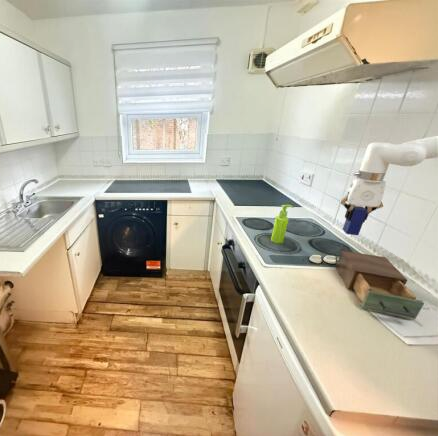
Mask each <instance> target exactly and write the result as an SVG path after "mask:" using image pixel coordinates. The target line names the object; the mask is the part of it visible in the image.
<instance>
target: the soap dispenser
mask: <svg viewBox="0 0 438 436" xmlns="http://www.w3.org/2000/svg"><path fill="white" fill-rule="evenodd" d="M281 207H282V209H281V210H279V214H278V215H277V216H275V219H274V224H273V228H272V233H271V238H270V241H271V242H272V243H275V244H283V243H284V241H285V236H286V233H287V229H288V224H289V220H290V219H289V217H287V216H288V211H287V209H288V208H294V206H293V205H292V204H281Z"/></svg>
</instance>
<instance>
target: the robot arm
mask: <svg viewBox="0 0 438 436" xmlns="http://www.w3.org/2000/svg"><path fill="white" fill-rule="evenodd" d="M435 158H438V135H434V136H428V137H425V138H420V139H419V138H418V139H415V140H410V141H405V142H402V143H400V144H394V143H393V142H385V141H384V142H383V141H382V142H381V141H376V142H375V141H374V142H371V143H369V144H368V145H367V148H366V150H365V153H364V156H363V158H362V161H361V165H360V169H359V170H358V171H357V172H355V171H354V172H353V176H354V177H355V178H354V179H353V180H352V182H351V184H350V185H349V188H348V189H347V192H346V194H345V196H343V197H342V198H341V199H340V200H339V203H340V205H342V206H343V207H344V208H345V209H346V211H345V215H344V218H345V220H346V219H347V220H348V221H350V219H351V217H352V214H353V212H352V210H353V208H354V207H355V206H361V207H364V208H365V209H366V210H368V211H367V214H366V216H365V219H364V222H363V223H365V221H367V220H368V217H369V214H371V213H372V212H374V211H376V210H379V209H382V208H384V204H383V202H382V200H383V197H384V195H385V190H386V181H385V180H384V179H385V176H386V174H387V171H388V169H389V166H390V165H394V166H400V167H414V166H417V165H419V164H421V163H422V162H423V161H425V160H429V159H435ZM346 202H347V203H346Z"/></svg>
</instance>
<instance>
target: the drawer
mask: <svg viewBox="0 0 438 436" xmlns="http://www.w3.org/2000/svg"><path fill="white" fill-rule="evenodd" d="M352 287H353V289H354V290H355V291H354V292H355V294H356V295H357V297H358V299H359V300H360V302H361V306H360V307H361V308H362V309H363V310H367V311H373V312H377V313H382V314H385V315H391V316H396V317H399V318H404V319H409V320H413V321H415V320H416V319H417V317H418V316H419V313H420V312H421V310H422V309H423V306H424V305H425V302H424V301H423V300H421V299H417V297H416V296H415V294H414V293H412V291H411V290H410V289H409V288H408V287H407V286H406V284H405V285H404V284H403V283H402V282H401V281H400V280H394V279H389V278H383V277H377V276H372V275H366V274H361V273H357V275H356V277H355V279H354V282H353V284H352Z"/></svg>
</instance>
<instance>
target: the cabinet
mask: <svg viewBox="0 0 438 436" xmlns="http://www.w3.org/2000/svg"><path fill="white" fill-rule="evenodd" d="M334 269H335V270H336V272H337V273H338V275H339V277H340V279H341V280H342V282H343V284H344V286H345V287H346V289H347V291H348V290H349V291H353V292H355V290H354V289H353V287H352V284H353V282H354V279H355V277H356V275H357V273H361V274H366V275H372V276H377V277H383V278H389V279H394V280H400V281H401V282H402V283H403V284H404V285H405V286H406V284H407V282H408V278H406V277H405V276H404V275H403V274H402V273H401V271H399V269H398V268H396V267H395V265H394V264H393V263H392V262H391V261H390V260H389V259H388V258H387V257H385V256H380V255H374V254H366V253H361V252H356V251H355V252H354V251H347V250H341V251H340V253H339V256H338V259H337V262H336V265H335V267H334Z"/></svg>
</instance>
